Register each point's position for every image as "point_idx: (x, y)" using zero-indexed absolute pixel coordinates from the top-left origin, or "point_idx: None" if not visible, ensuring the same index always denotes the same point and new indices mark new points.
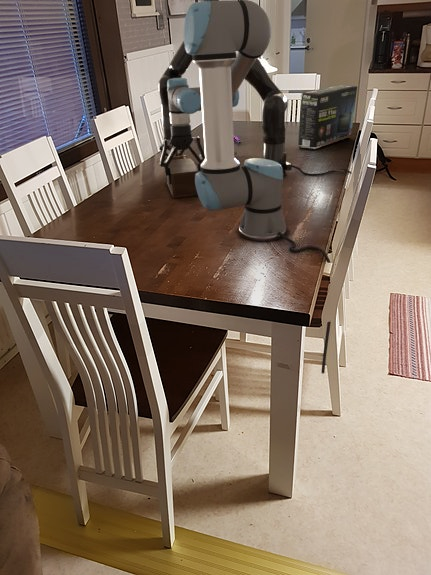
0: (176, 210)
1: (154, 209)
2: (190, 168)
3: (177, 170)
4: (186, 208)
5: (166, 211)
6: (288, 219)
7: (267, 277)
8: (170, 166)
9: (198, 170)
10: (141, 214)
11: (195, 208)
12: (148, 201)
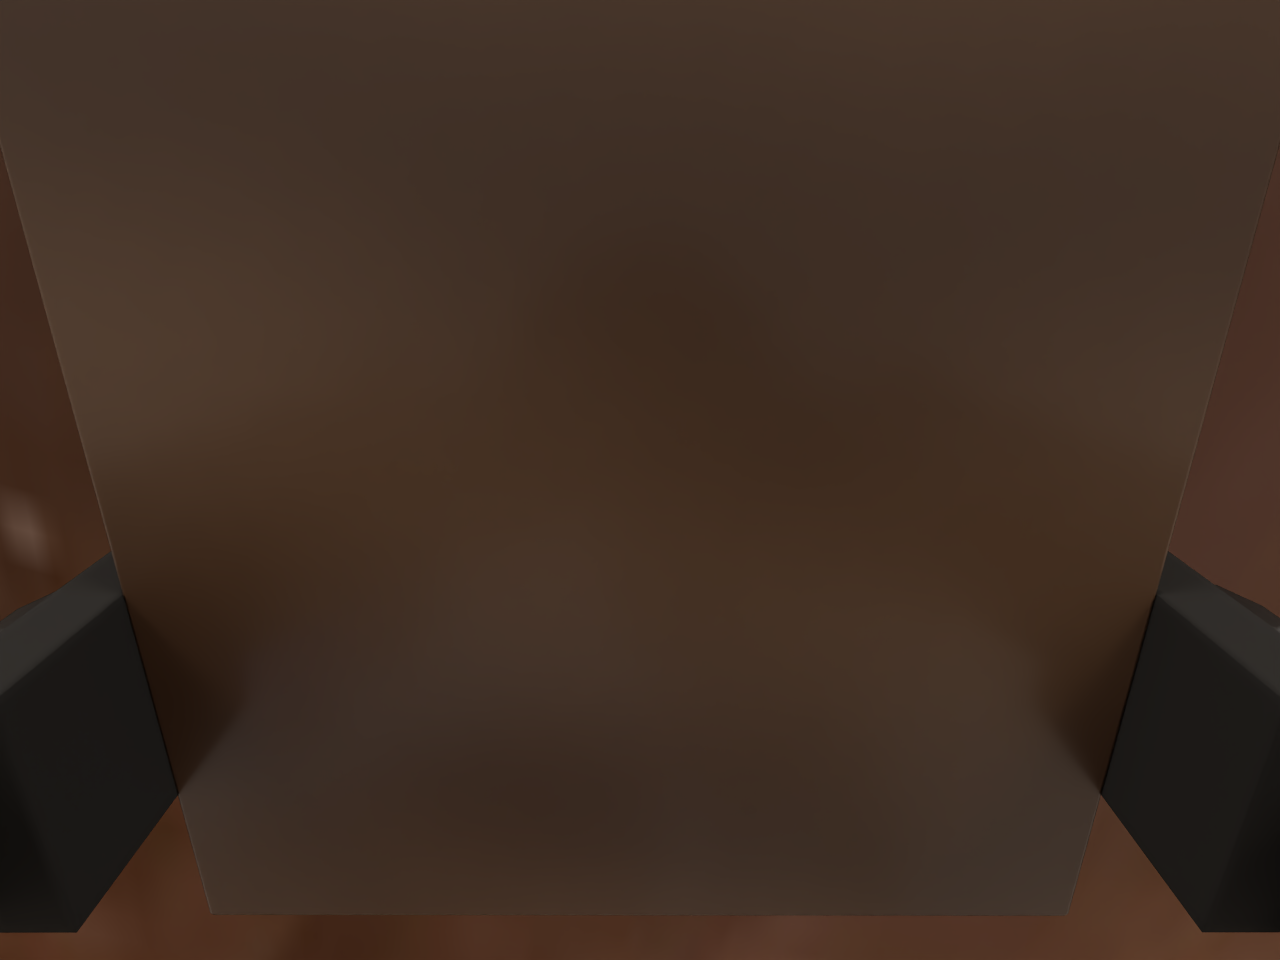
0: (437, 937)
1: (156, 848)
2: (899, 631)
3: (415, 695)
4: (564, 917)
5: (315, 933)
6: None
7: None
8: (108, 65)
9: (1065, 881)
10: (13, 935)
11: (670, 941)
12: (18, 561)
